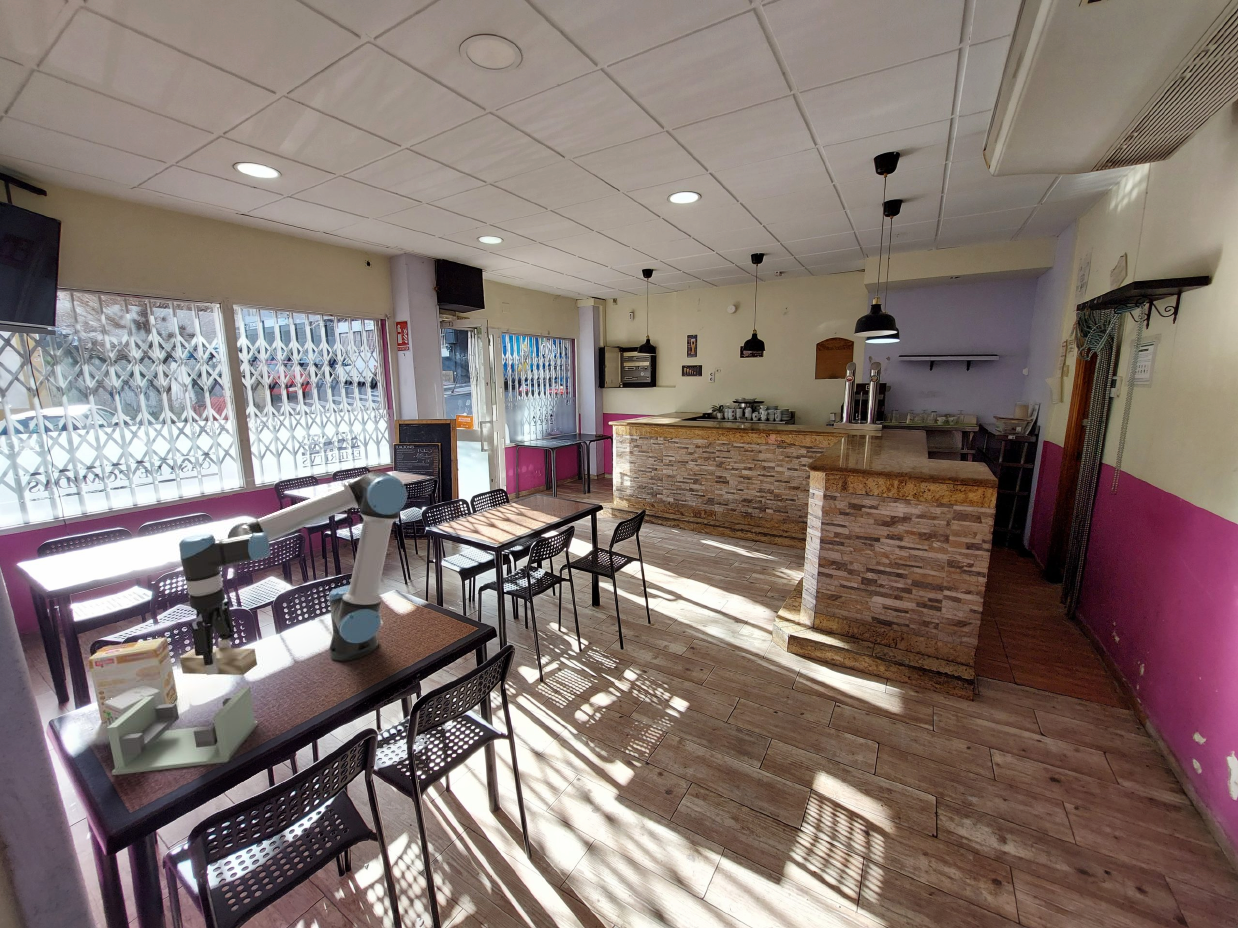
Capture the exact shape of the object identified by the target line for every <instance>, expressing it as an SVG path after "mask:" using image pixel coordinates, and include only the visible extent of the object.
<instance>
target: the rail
mask: <svg viewBox="0 0 1238 928" xmlns="http://www.w3.org/2000/svg"><path fill="white" fill-rule="evenodd" d="M213 651H216V656H217V662H218V667H219V673H218V674H217V675H226V676H229V675H231V676H244V675H245V674H247V673H248V672H249V671H251V670H252V669H254V668H255V667H256V666H258V661H257V660H258V659H257V654H256V649H255V648H242V647H241V648H240V647H239V648H236V647H235V648H233V647H231V648H219V647H213ZM179 662H180V667H181V670H182V674H185V675H186V674H187V675H188V674H189V675H207V672H206V667H205V664H204V659H203V655H202V656H196V655H195V649H194V648H193V649H190V650H189V651H188V652H186V653H184V654H183V655H181V656H179Z"/></svg>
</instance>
